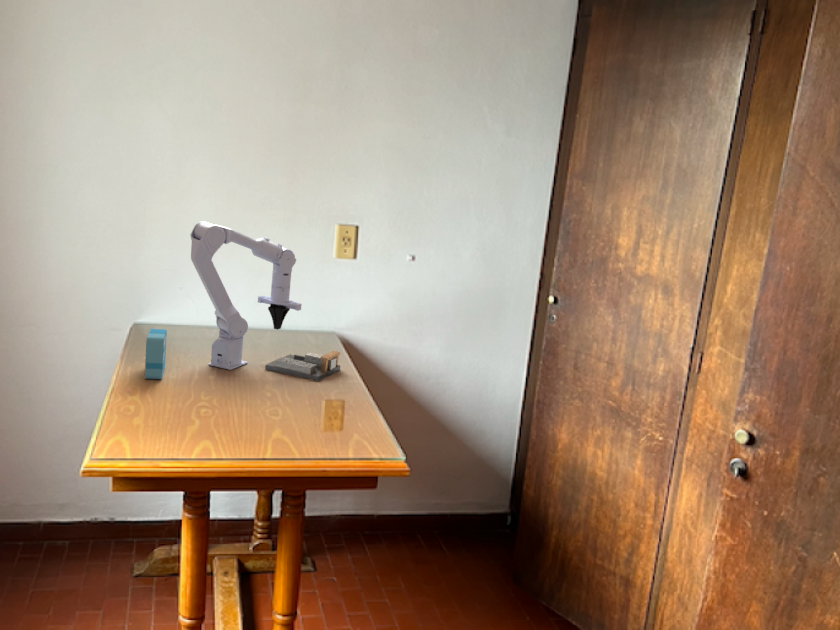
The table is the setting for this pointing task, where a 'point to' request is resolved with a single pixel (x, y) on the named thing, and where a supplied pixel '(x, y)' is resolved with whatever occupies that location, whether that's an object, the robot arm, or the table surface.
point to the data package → (155, 353)
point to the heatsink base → (304, 366)
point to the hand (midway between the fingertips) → (277, 328)
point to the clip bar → (319, 360)
